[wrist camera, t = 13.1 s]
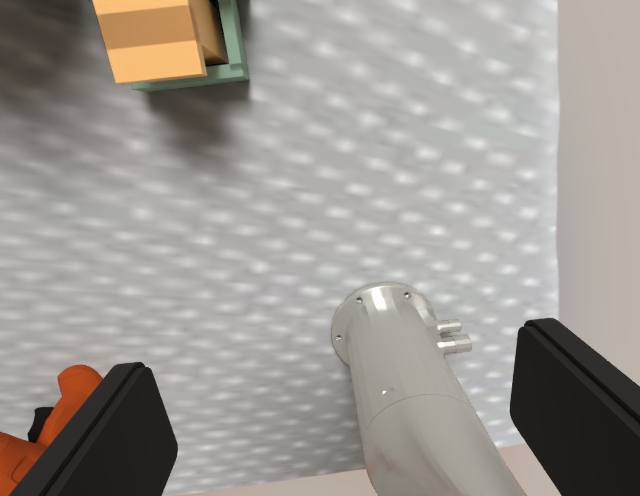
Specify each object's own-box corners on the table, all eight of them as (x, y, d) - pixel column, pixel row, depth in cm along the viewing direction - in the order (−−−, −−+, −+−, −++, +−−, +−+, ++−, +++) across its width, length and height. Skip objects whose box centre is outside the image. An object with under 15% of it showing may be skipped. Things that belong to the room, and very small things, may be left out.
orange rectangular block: (218, 10, 30) (181, -34, 21) (231, 86, 32) (202, 73, 23) (149, 18, 30) (85, -23, 21) (167, 93, 32) (115, 83, 23)
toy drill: (23, 289, 37) (-130, 412, 23) (124, 398, 45) (54, 533, 32) (-15, 302, 37) (-186, 430, 24) (92, 408, 46) (10, 545, 32)
